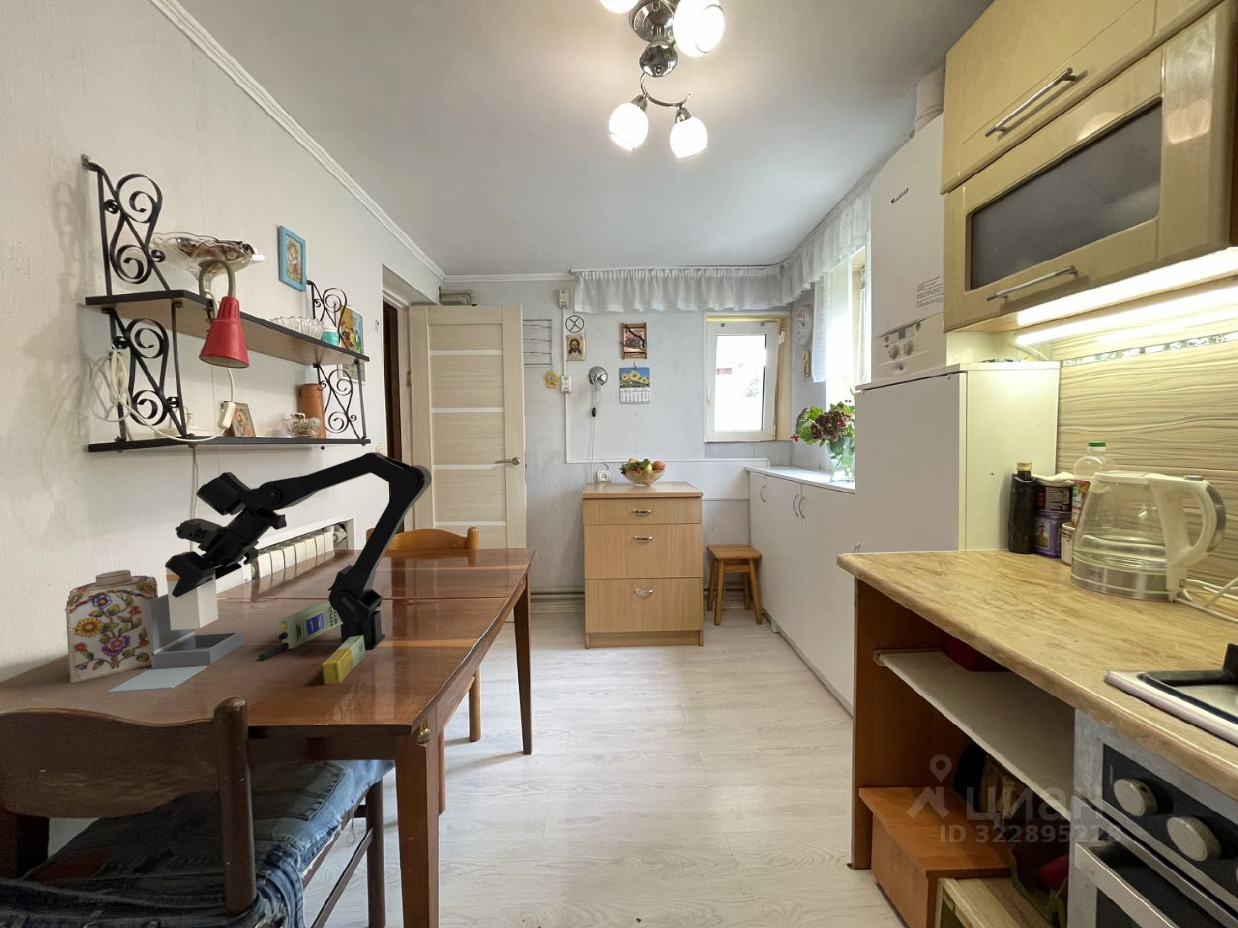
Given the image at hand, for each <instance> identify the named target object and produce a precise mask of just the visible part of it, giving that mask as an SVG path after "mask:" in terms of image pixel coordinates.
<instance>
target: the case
mask: <svg viewBox="0 0 1238 928" xmlns="http://www.w3.org/2000/svg"><path fill="white" fill-rule="evenodd" d="M147 611H148V624H149V637H150V650H151V651H150V655H151V664H152V665H151V669H166V668H181V667H195V666H207V665H212V664H214V663H215V662H217V661H219V660H220V659H222V658H223V657H225V656H227V655H229V654H230V653H232V652H233V651H235V650H237V649H238V648H240V647H241V646H244V645H245V644H246V640H245V630H243V631H242V630H240V631H239V630H238V631H237V630H236V631H223V632H222V631H221V632H207V633H196V631H195V630H194V629H183V630H171V623H170V610H169V598H168V593H167V594H164V595H161V596H158V597H157V598H155V599H152V600H149V601H147Z"/></svg>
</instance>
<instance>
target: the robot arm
mask: <svg viewBox="0 0 1238 928" xmlns="http://www.w3.org/2000/svg"><path fill="white" fill-rule="evenodd" d="M369 474H373V475H374V476H377V477H378V478H380V479H382V480H383V481H385V482H387V483H390V484H392V485H391V487H390V491H389V498H388V502H387V505H386V507H385V508H384V510H383V512H382V514H381V516H380V518H379V519H378V521H377V523H376V525H375V526H374V528H373V531H372V532H371V534H370V536H369V537H368V539H367V541H366V543H365V545H364V546H363V548H362V550H361V551H360V553H359V555H358V557H357V558H356V561H354V562H355V563H354V564H353V565H351V564H348V565H347V566H344V568H342V569H341V570H339V571H337V573H336V576H335V579H334V581H333V583H332V585H331V586H330V587H329V588H328V589H327V591H328V592H329V591H330V592H329V594H328V598H327V599H328V601H329V602H330V605H331V606H332V608H333V609H334V610H336V611H337V613H338V615H339V617H340V619H341V621H342V622H343V624H341V625H340V636H341V638H340V639H341V645H342V644H343V643H344V642H345V641H346V640H347V639H348V638H349V637H351V636H357V635H364V642H365V650H369V649H370V650H371V649H375V648H376V647H377V646H378V645H379V644H380V643H381V641H383V640H384V639H385V638H386V633H383V630H382V629H383V628H382V612H381V611H382V610H378V609H379V608H380V607H381V606H382V603H383V599H384V597H383V596H382V595H381V594H380V593H378V592H377V591H376V590H374V589H373V586H374V583H375V578H376V574H377V573H376V572H377V568H378V567H379V565H380V562H381V561H382V559H383V557H384V556H385V554H386V551H387V550H388V548H389V546H390V544H391V543H392V541H393V539H394V537H395V536H396V534H397V532H398V530H399V529H400V527H401V525H402V524H403V521H404V519H405V518H406V515H407V514H408V512H409V510H410V509H411V508H412V507H413V506H414V504H415V503H416V502H418V501H419V499H421V497H422V495H424V493H425V492H426V491H427V490H428V488H429V487H430V486H431V483H432V481H433V480H432V479H433V477H432V475H431V471H429V469H428V468H427V467H426V466H423V465H421V464H419V465H418V464H415V465H414V464H413V465H410V464H407V463H405V462H403V461H400V460H396V459H394V458H392V457H388V456H386V455H385V454H383V453H381V452H377V451H376V452H373V451H372V452H371V451H370V452H365V453H364V454H363V455H360V456H358V457H355V458H353V459H350V460H346V461H344V462H341V463H337V464H335V465H332V466H329V467H327V468H324V469H321V470H317V471H314V472H312V473H309V474H306V475H300V476H294V477H287V478H281V479H275V480H271V481H266V482H264V483H262V484H261V485H260V486H259V487H255V488H250V487H249V486H247V485H246V484H245V483H243V482H242V481H241V480H240V479H239V478H238V476H236V475H235V474H234V473H233V472H231V471H224V472H222V473H221V474H220V475H219V476H217V477H215V478H213V479H211V480H210V481H208V482H207V483H204V484H203V485H202V486H200V487H199V489H198V490H197V492H196V493H195V494H196V496H197V497H198V498H199V499H201V500H202V501H203V502H204V503H205V504H206V505H208V506H209V507H210V508H212V509H213V510H214V511H216V512H217V513H218V514H219V515H221V516H222V517H223V516H227V515H230V516H235V515H236V516H235V517H234V518H233V519H232V520H231V521H230V522H229V523H228V524H227V525H226V526H225V525H224V526H222V525H221V524H217V523H215V522H213V521H210V520H206V519H203V518H199V517H196V518H191V519H187V520H183V522H180V524H179V525H178V526H177V527H175V531H176V533H175V534H176V537H177V538H178V539H180V540H187V541H190V542H193V543H196V544H199V545H198V546H197V549H199V550H200V551H201V552H205V553H203V554H199V553H198V552H196V551H194V550H193V551H191V550H190V551H184V552H181V553H177V554H175V555H173V556H171V557H170V558H169V559H168V560H167V561H166V562H165V564H164V566H165V565H166V567H167V568H168V569H170V570H171V571H172V572H174V573H175V574H176V575H178V576H179V580H178V582H177V584H176V586H175V588H174V590H173V592H172V595H173V596H174V597H176V598H177V597H179V596H181V595H183V594H185V593H187V592H189V591H191V590H193V589H195V588H197V587H199V586H201V585H203V584H205V583H207V582H209V581H211V580H213V578H211V577H212V576H213V575H214V574H215V581H217V580H218V579H221V578H224V577H225V576H227V575H229V574H231V573H233V572H236V571H238V570H240V569H241V568H242V567H243V566H242V565H244V566H247V565H250V564H252V563H253V562H255V560H257V558H258V557H259V550H258V549H257V548H256V547H257V545H259V544H260V541H259V539H261V537H262V536H263V535H264V534H265V533H266V532H268V530H269V529H270V528H273V529H274V530H276V531H277V530H281V529H283V528H284V529H285V528H287V526H288V523H287V520H286V514H278V513H277V512H276V511H280V510H284V509H289V508H291V507H294V506H296V505H298V504H301V503H302V502H304V501H306V500H308V499H309V498H311V497H312V496H313V495H315V494H317V493H319V492H320V491H323V490H325V489H329V488H332V487H334V486H339V485H340V484H343V483H346V482H349V481H352V480H355V479H358V478H359V477H364V476H366V475H369ZM244 559H245V560H244ZM242 561H243V562H242ZM240 562H242V565H241V564H240Z"/></svg>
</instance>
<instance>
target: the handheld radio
mask: <svg viewBox="0 0 1238 928" xmlns="http://www.w3.org/2000/svg"><path fill="white" fill-rule="evenodd" d="M277 622H278V623H280V625H278V629H279V630H281V632H280V634H279V635H278V639H279V640H281V641H282V642H281V644H280V645H277V646H276V647H274V648H271V649H269V650H267V651H264V652H262V653H261V654H259V656H258V658H259V660H260V661H262V662H263V661H265V660H267V659H269V658H272V657H273V656H275V655H277V654H279V653H281V652H282V651H285V650H287V649H289V650H290V649H294V648H296V647H299V646H300V645H303V644H305V643H307V642H309V641H310V640H312V639H315V638H317V637H318V636H320V635H322V634H324V633H326V632H327V631H330V630H332V629H334V628H335V627H336V628H337V627H341V624H343V622H342V621H341V619H340V617H339V615H338V613H337V611H336V610H334V609H333V608H332V606H331V605H330V602H329V601H328V598H327V599H325V600H323V601H321V602H317V603H315V604H313V605H311V606H309V607H306V608H303V609H301V610H299V611H297V612H295V613H292V614H290V615H287V616H285V617H283V618H281V619H280V620H277Z"/></svg>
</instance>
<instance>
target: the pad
mask: <svg viewBox="0 0 1238 928" xmlns="http://www.w3.org/2000/svg"><path fill="white" fill-rule="evenodd" d="M207 668H208V666H207V665H196V666H182V667H168V668H154V669H148V670H146V671H144V672H141V673H139V674H138V675H136V676H135V677H133V678H131V679H129V680H127V681H126V682H125V681H124V682H123V683H121V684H119V685H117V686H116V687H114V688H111V689H110V690H108V691H107V693H106V694H119V693H130V692H142V691H143V692H145V691H155V690H156V691H158V690H169V689H171V690H173V688H175V687H177V686H178V685H180V684H182V683H183V682H185V681H187V680H188V679H190V678H191V677H193V676H195V675H196V674H198V673H200V672H201V671H203V670H205V669H207Z"/></svg>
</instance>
